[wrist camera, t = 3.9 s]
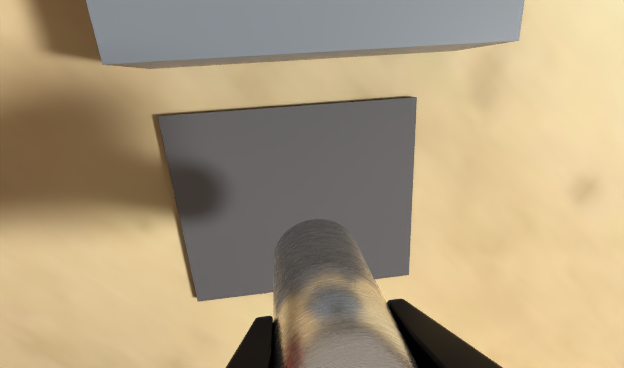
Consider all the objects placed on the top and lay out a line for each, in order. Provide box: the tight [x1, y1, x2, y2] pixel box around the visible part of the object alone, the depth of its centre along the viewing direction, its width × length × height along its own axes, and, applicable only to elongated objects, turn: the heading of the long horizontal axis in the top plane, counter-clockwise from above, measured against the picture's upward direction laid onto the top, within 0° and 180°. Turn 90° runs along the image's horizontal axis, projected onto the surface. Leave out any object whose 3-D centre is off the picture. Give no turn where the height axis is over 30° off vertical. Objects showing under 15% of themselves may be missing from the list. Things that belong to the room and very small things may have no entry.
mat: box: [158, 97, 417, 301], centre depth 16 cm, size 12×10×1 cm
